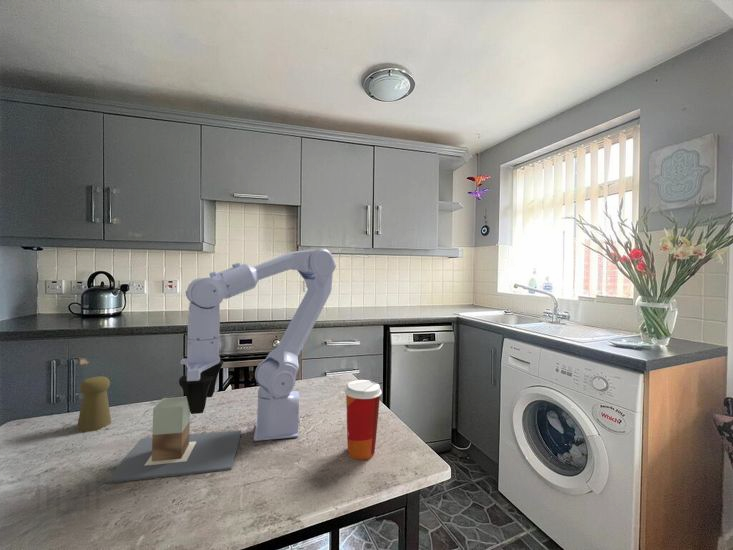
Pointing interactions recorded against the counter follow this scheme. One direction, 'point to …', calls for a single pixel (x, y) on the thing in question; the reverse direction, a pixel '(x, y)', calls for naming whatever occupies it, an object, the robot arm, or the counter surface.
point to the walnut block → (170, 445)
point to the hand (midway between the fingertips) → (202, 404)
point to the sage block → (171, 415)
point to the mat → (198, 458)
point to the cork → (94, 404)
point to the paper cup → (362, 417)
